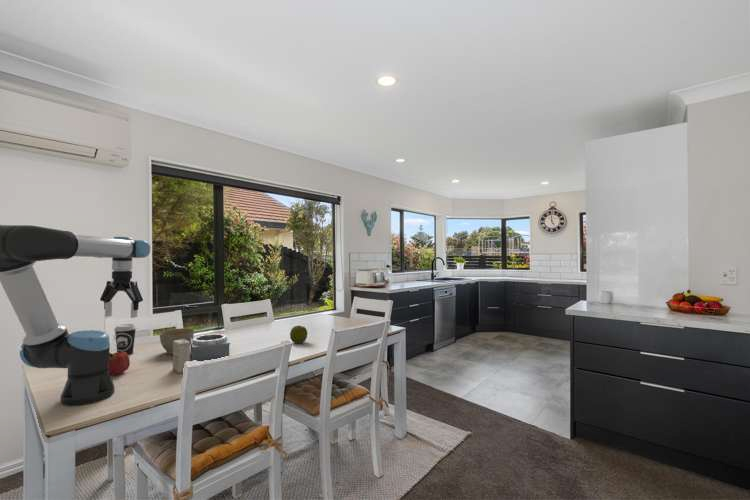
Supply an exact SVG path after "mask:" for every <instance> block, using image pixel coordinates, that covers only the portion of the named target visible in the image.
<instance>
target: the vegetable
mask: <svg viewBox="0 0 750 500" xmlns="http://www.w3.org/2000/svg"><path fill="white" fill-rule="evenodd" d="M130 366H131V359H130V355H128V354H127V353H126V352H123V351H122V352H117V351H116V352H114V353H111V352H109V374H110V376H111V375H114V376H117V375H121V374H123V373H124V372H126V371H127V370H128V369H129V368H130Z"/></svg>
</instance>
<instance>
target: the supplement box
mask: <svg viewBox="0 0 750 500" xmlns="http://www.w3.org/2000/svg"><path fill="white" fill-rule="evenodd" d="M190 349H191V344H190V342H189V341H187V340H185V339H181V340H176V341H173V354H172V371H175V372H176V373H178V374H183V373H182V372H183V368H184V363H185V362H186V361H190V362H191V354H190Z"/></svg>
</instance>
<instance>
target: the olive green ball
mask: <svg viewBox="0 0 750 500" xmlns="http://www.w3.org/2000/svg"><path fill="white" fill-rule="evenodd" d="M289 338H290V340H291V341H292V343H294V344H297V343H300V344H302V342H303V343H304V342H306V340H307V338H308V330H307V328H306V327H305V326H302V325H296V326H293V327H292V328H291V329H290V333H289Z"/></svg>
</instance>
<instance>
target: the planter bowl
mask: <svg viewBox="0 0 750 500" xmlns="http://www.w3.org/2000/svg"><path fill="white" fill-rule="evenodd" d="M194 333H195V329H194V328H188V327H187V328H183V327H182V328H173V329H168V330H163V331H161V332H159V333H158V335H159V341H160V345H161V346H162V348H163V349H164V350H165V352H166V354H169V355H173V341H176V340H181V339H185V340H187V341H189V342H190V338H193V337H195V336H194V335H195V334H194ZM190 345H191V342H190Z"/></svg>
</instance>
